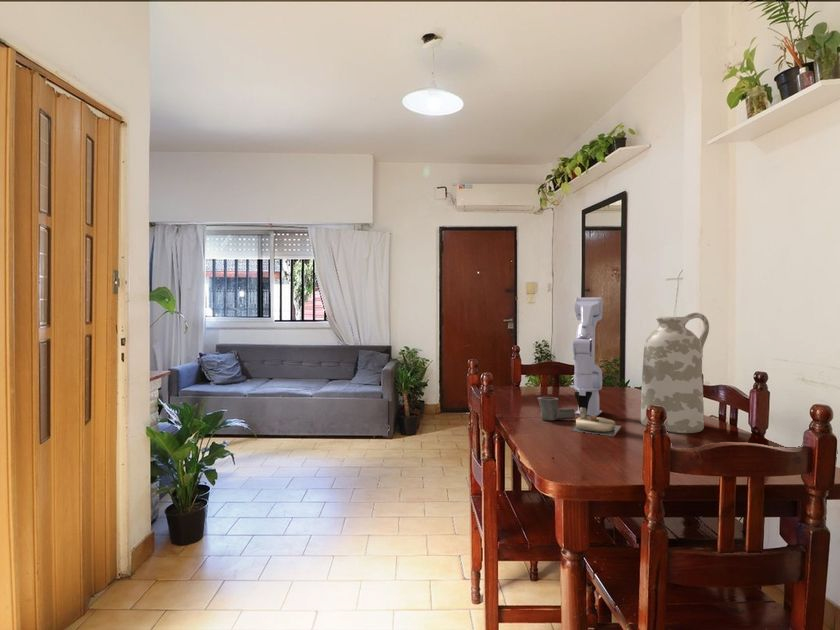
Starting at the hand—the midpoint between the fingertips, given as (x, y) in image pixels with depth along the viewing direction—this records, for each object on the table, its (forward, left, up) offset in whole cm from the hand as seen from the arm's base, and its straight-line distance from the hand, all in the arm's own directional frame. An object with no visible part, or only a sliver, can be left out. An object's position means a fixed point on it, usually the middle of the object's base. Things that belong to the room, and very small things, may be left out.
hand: (583, 413), depth 160 cm
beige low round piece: (+4, +5, -4) cm, 7 cm away
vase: (-12, +27, -4) cm, 30 cm away
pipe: (-2, -10, -4) cm, 11 cm away
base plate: (+4, +5, -4) cm, 8 cm away
